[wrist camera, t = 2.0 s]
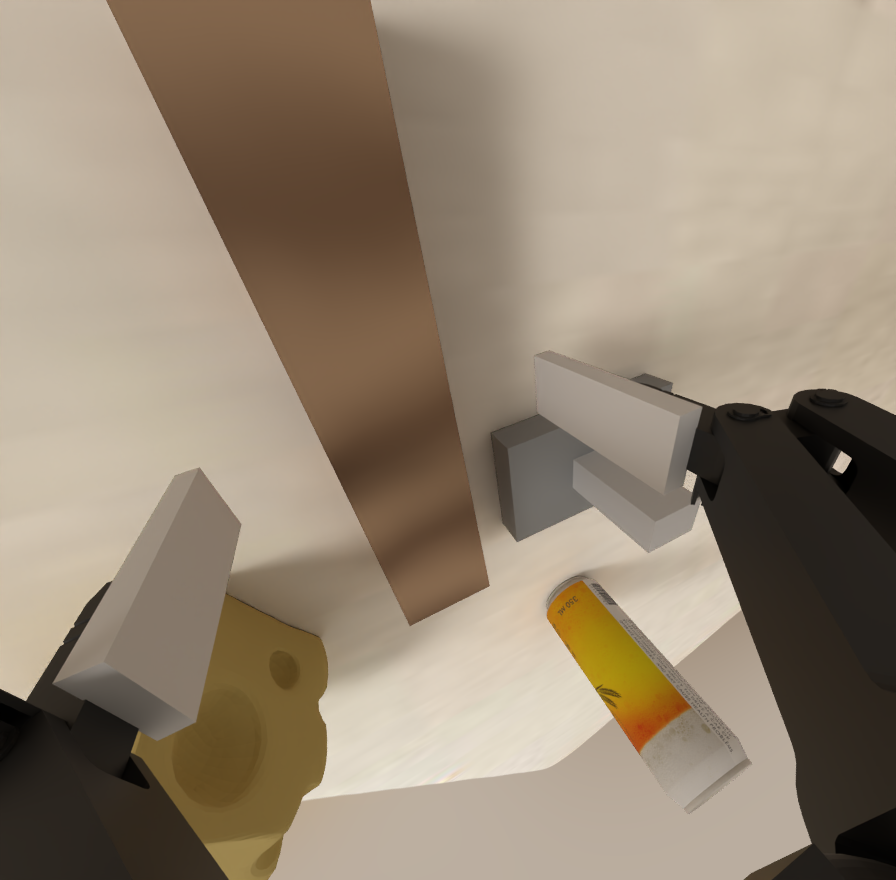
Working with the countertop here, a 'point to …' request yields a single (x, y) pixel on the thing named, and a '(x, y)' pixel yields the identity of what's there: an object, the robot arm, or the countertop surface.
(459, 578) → the walnut bar
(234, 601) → the cheese
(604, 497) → the fulcrum
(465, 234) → the countertop surface
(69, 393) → the countertop surface
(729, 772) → the beer can
